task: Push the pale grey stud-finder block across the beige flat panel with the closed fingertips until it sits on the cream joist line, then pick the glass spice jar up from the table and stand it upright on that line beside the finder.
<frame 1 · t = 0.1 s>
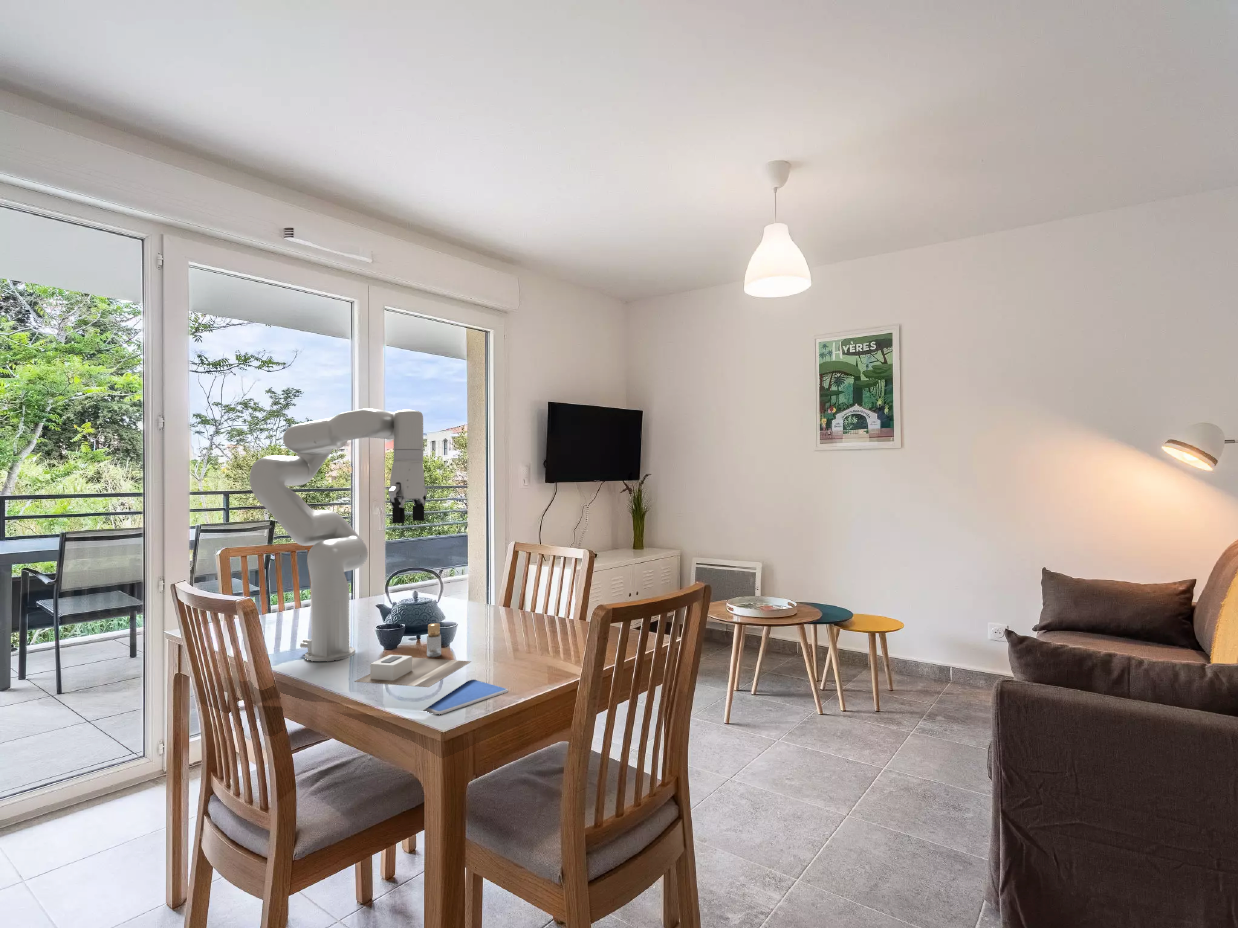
hand: (408, 521, 175), 37 cm above the table, tool pointing down, fingers open, 9 cm apart
beige flat panel: (415, 676, 160), on the table
glass spice jar: (434, 660, 175), on the table
tablet computer: (457, 700, 145), on the table
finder: (391, 674, 157), point 1 cm above the table, touching beige flat panel
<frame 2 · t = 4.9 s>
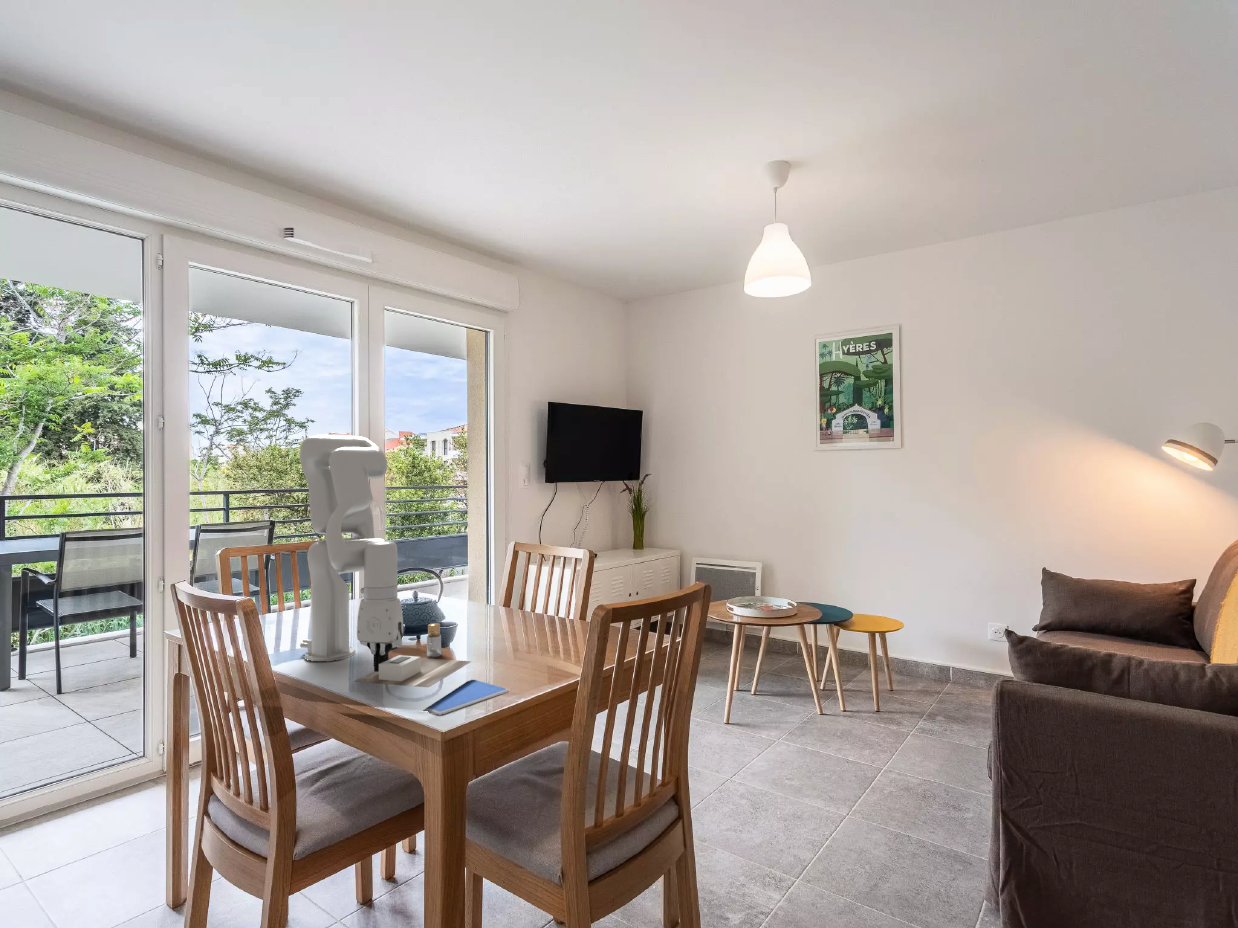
hand: (381, 670, 158), 2 cm above the table, tool pointing down, fingers closed
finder: (400, 675, 157), point 1 cm above the table, touching gripper, beige flat panel
everything else where it was.
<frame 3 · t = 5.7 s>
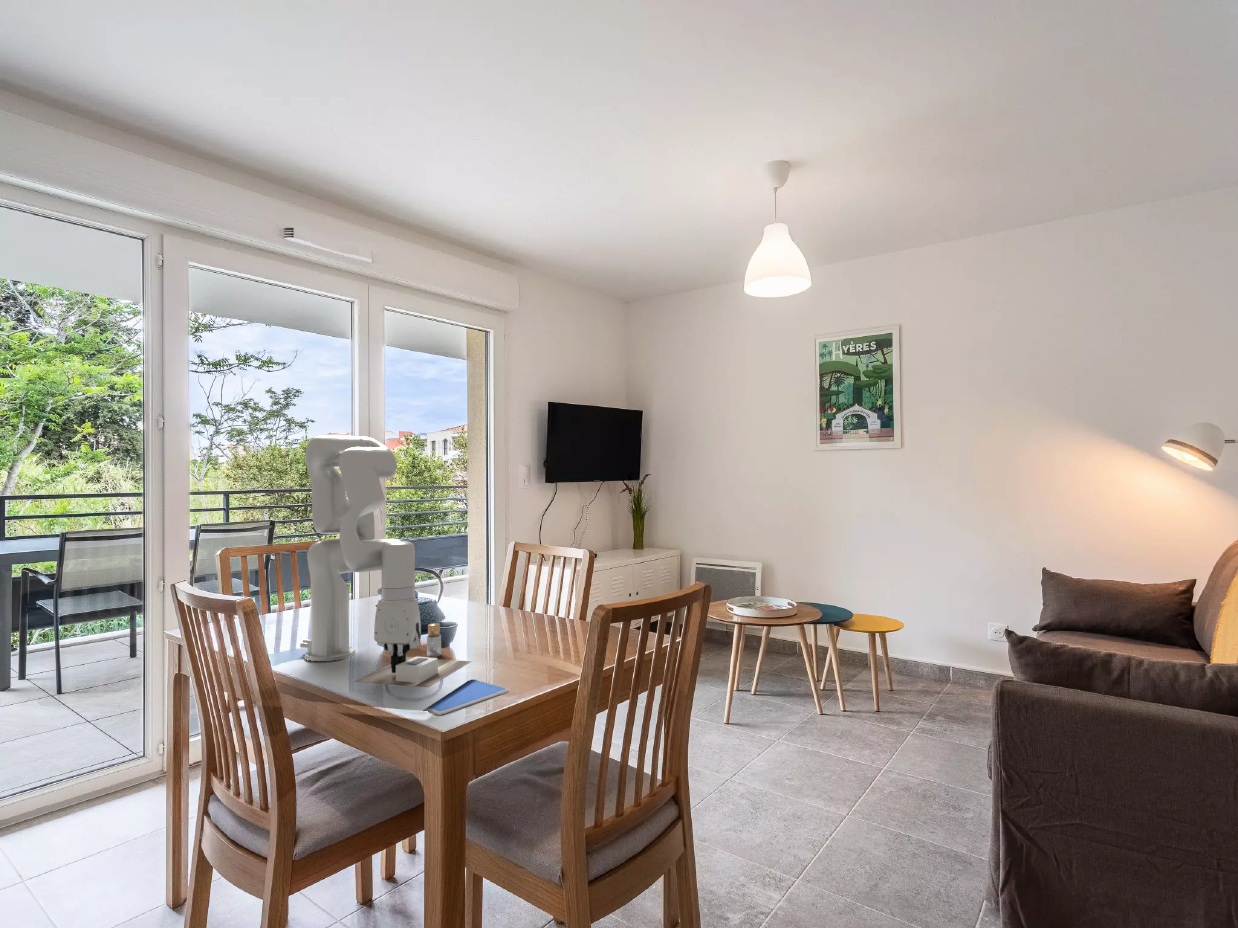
hand: (398, 671, 157), 2 cm above the table, tool pointing down, fingers closed
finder: (417, 676, 156), point 2 cm above the table, touching gripper
everything else where it was.
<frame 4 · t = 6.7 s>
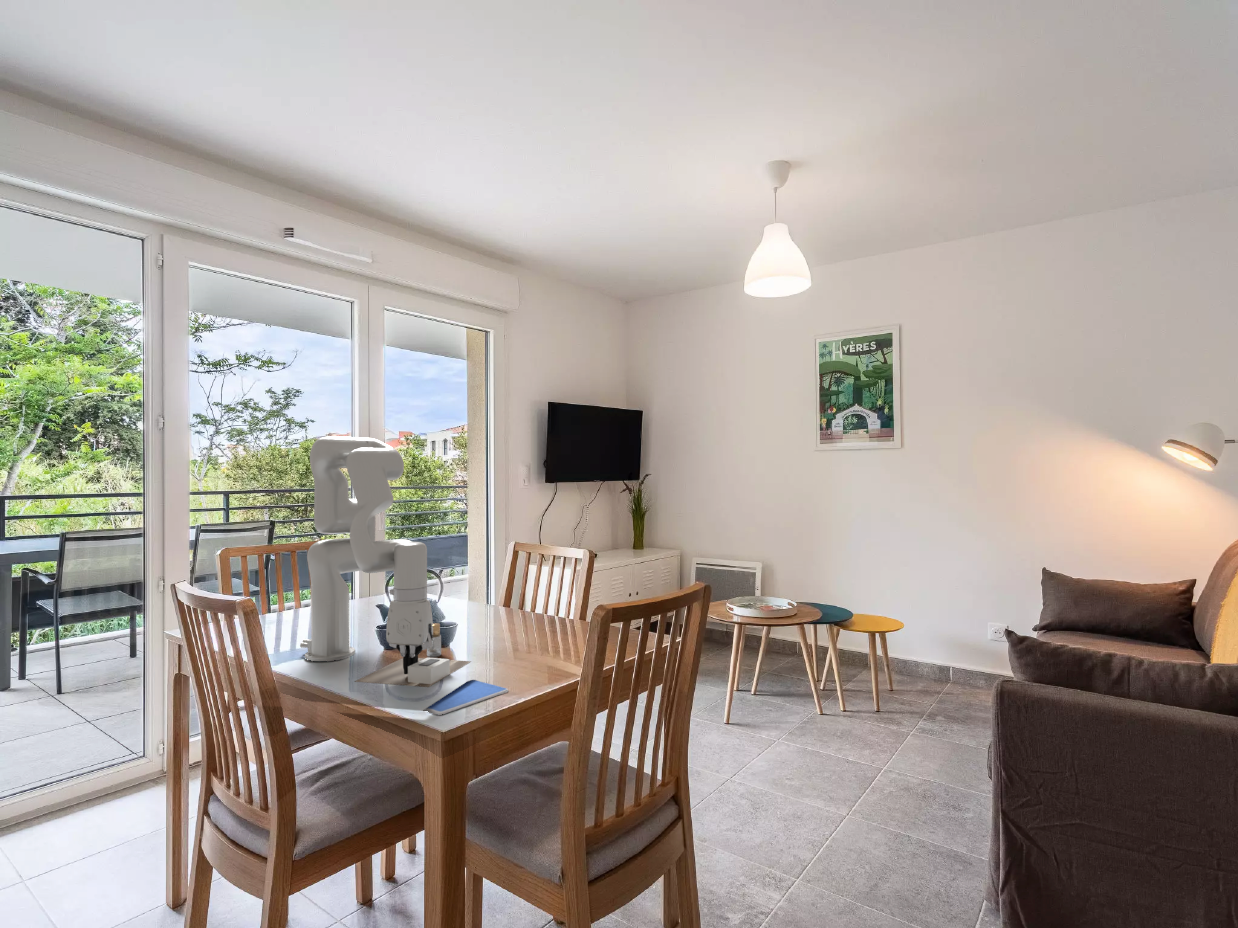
hand: (410, 672, 156), 2 cm above the table, tool pointing down, fingers closed
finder: (429, 677, 155), point 1 cm above the table, touching gripper, beige flat panel
everything else where it was.
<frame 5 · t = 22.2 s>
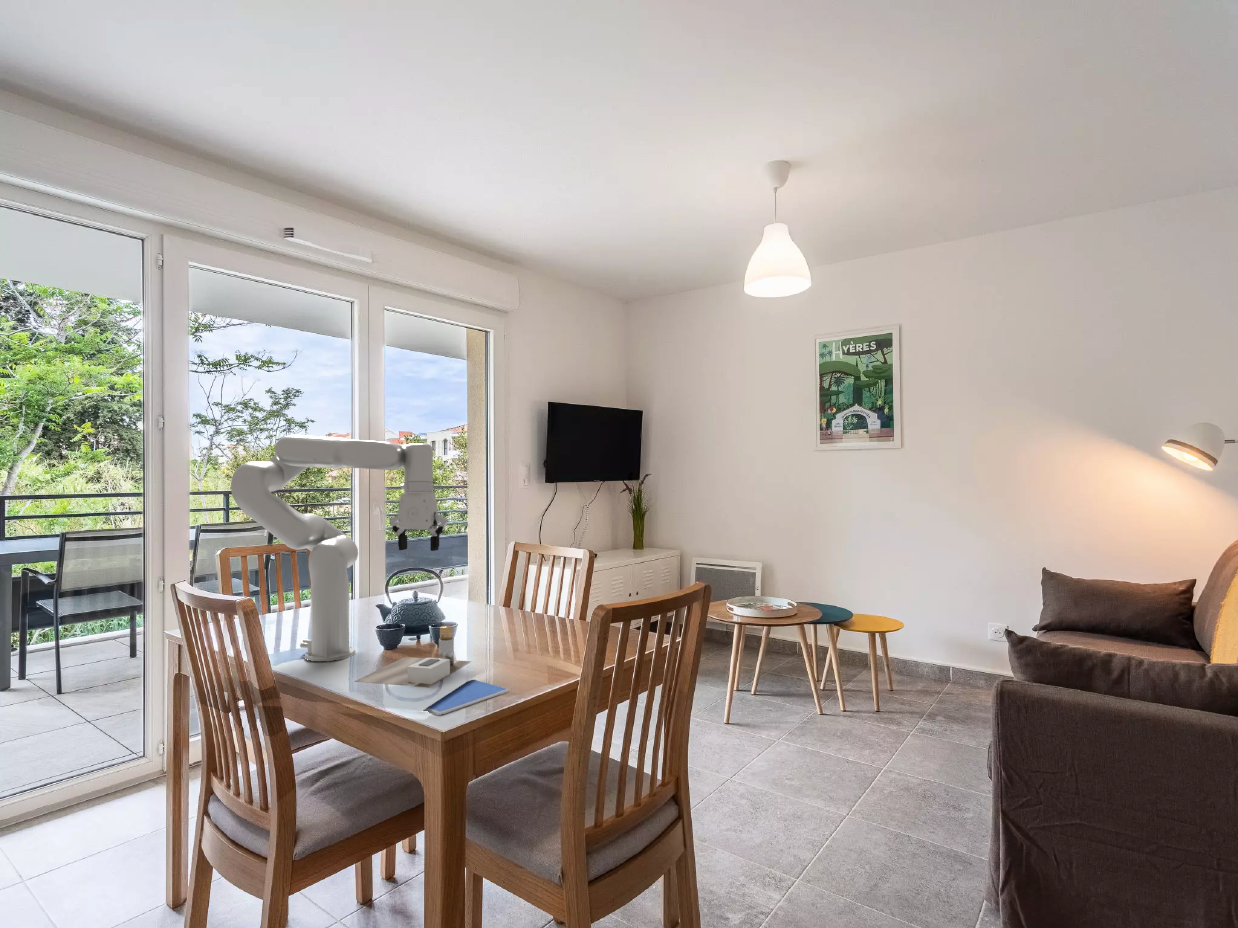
hand: (418, 550, 183), 28 cm above the table, tool pointing down, fingers open, 9 cm apart
glass spice jar: (446, 665, 165), point 1 cm above the table, touching beige flat panel
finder: (429, 677, 155), point 1 cm above the table, touching beige flat panel
everything else where it was.
at the end: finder 1.0 cm from the target spot, point 1.5 cm above the table; glass spice jar 0.1 cm from the target spot, point 1.5 cm above the table; glass spice jar tilted 0° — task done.
